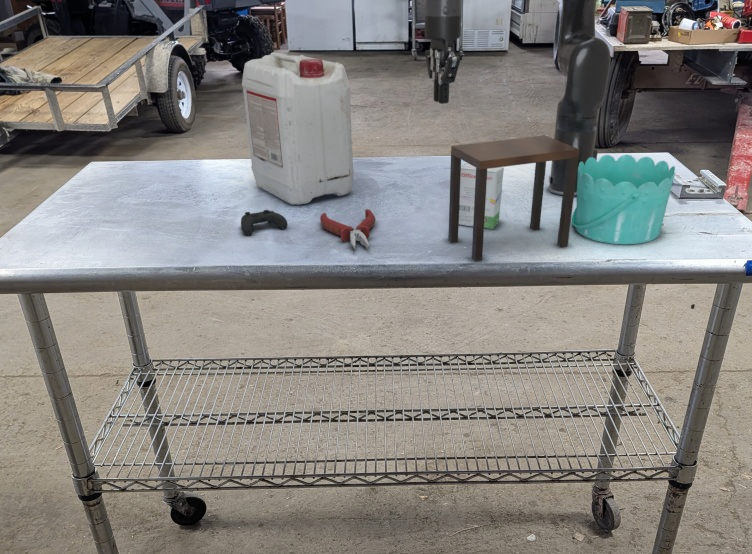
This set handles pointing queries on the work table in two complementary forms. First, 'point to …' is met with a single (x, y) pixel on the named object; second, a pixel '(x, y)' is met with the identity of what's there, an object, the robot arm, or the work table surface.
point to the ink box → (469, 195)
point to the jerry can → (299, 126)
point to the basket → (622, 199)
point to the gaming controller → (261, 220)
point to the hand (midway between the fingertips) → (441, 101)
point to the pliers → (350, 229)
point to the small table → (511, 155)
